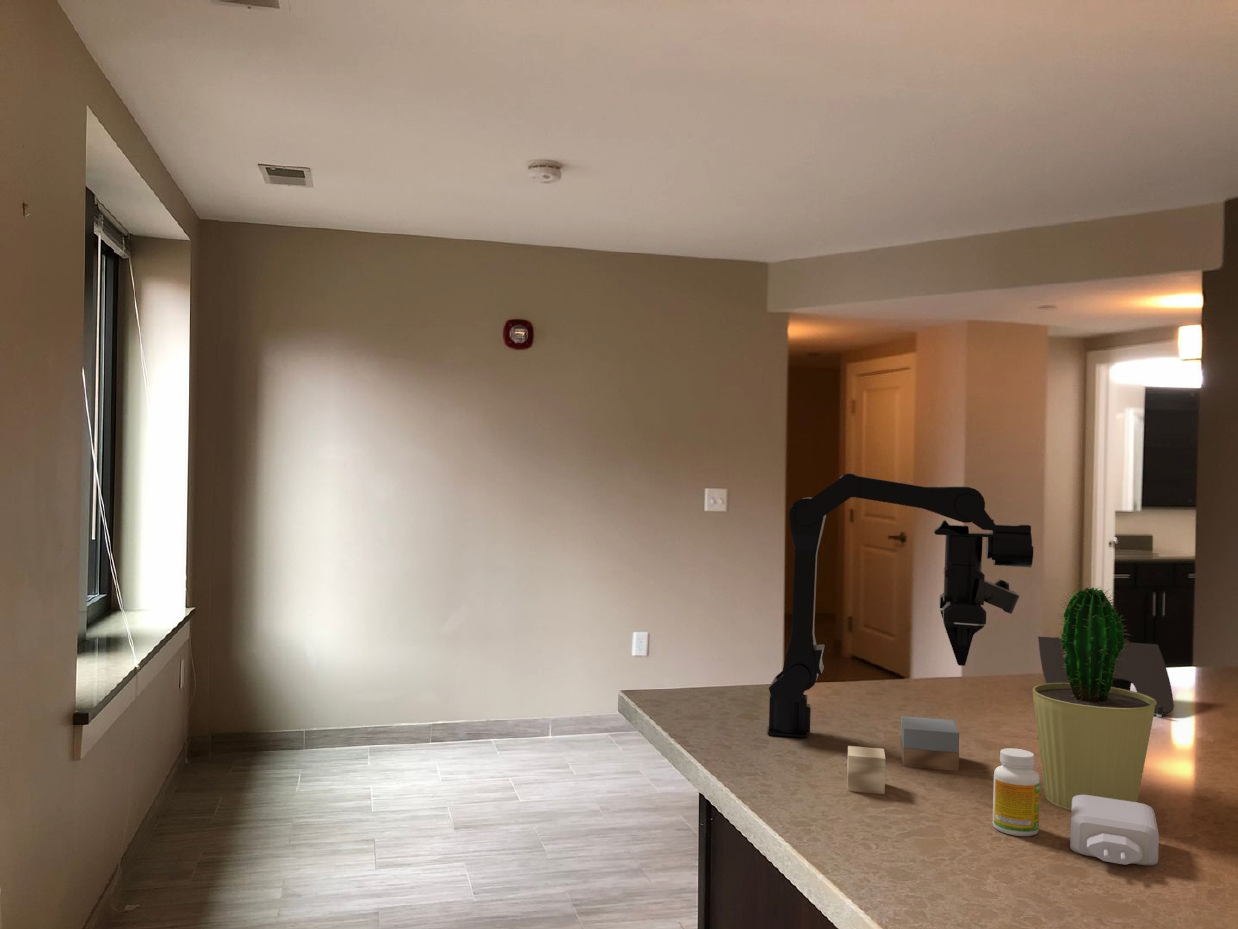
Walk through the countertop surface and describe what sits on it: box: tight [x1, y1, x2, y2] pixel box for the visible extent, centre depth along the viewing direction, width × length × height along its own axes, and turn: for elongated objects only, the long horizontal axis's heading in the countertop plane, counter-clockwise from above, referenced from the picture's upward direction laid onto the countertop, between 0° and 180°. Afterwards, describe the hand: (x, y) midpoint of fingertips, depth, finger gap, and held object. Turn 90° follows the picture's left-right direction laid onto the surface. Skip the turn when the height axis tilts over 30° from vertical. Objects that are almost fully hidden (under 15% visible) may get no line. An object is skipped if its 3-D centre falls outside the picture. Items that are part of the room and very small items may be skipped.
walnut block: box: [899, 735, 960, 771], centre depth 156 cm, size 8×8×3 cm
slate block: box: [900, 715, 960, 754], centre depth 156 cm, size 8×8×3 cm
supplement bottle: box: [992, 747, 1041, 837], centre depth 127 cm, size 5×5×10 cm
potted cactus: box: [1031, 583, 1157, 811], centre depth 138 cm, size 15×15×30 cm
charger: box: [1069, 795, 1160, 867], centre depth 119 cm, size 5×9×15 cm
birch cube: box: [846, 745, 886, 795], centre depth 142 cm, size 5×5×5 cm
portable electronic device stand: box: [1037, 636, 1175, 719], centre depth 200 cm, size 23×23×9 cm
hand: (959, 660), depth 163 cm, fingers open, 9 cm apart
